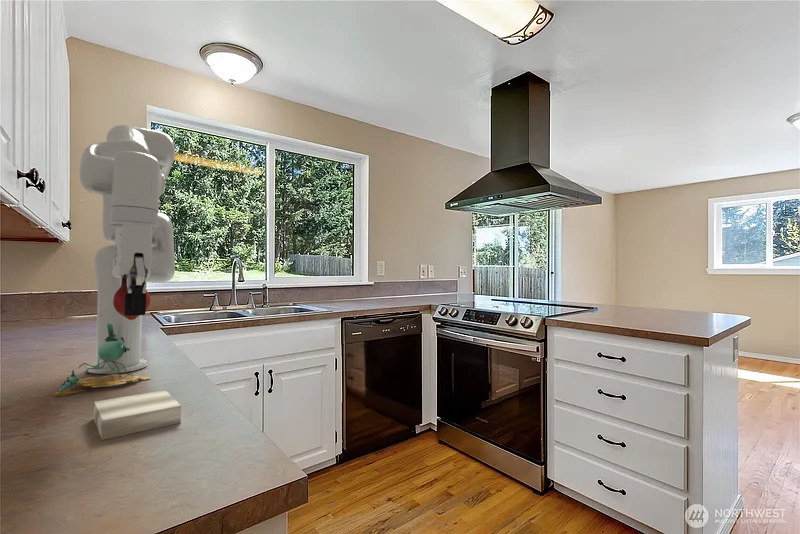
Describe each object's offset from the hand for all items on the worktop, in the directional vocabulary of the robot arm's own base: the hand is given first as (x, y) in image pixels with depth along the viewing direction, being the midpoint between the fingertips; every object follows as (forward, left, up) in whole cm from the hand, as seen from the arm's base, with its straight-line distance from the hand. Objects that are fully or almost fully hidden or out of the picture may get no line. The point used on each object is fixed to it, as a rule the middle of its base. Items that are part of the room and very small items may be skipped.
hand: (131, 312), depth 75 cm
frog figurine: (-19, -1, -18) cm, 26 cm away
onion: (0, 0, -2) cm, 2 cm away
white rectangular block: (+8, 0, -18) cm, 20 cm away
